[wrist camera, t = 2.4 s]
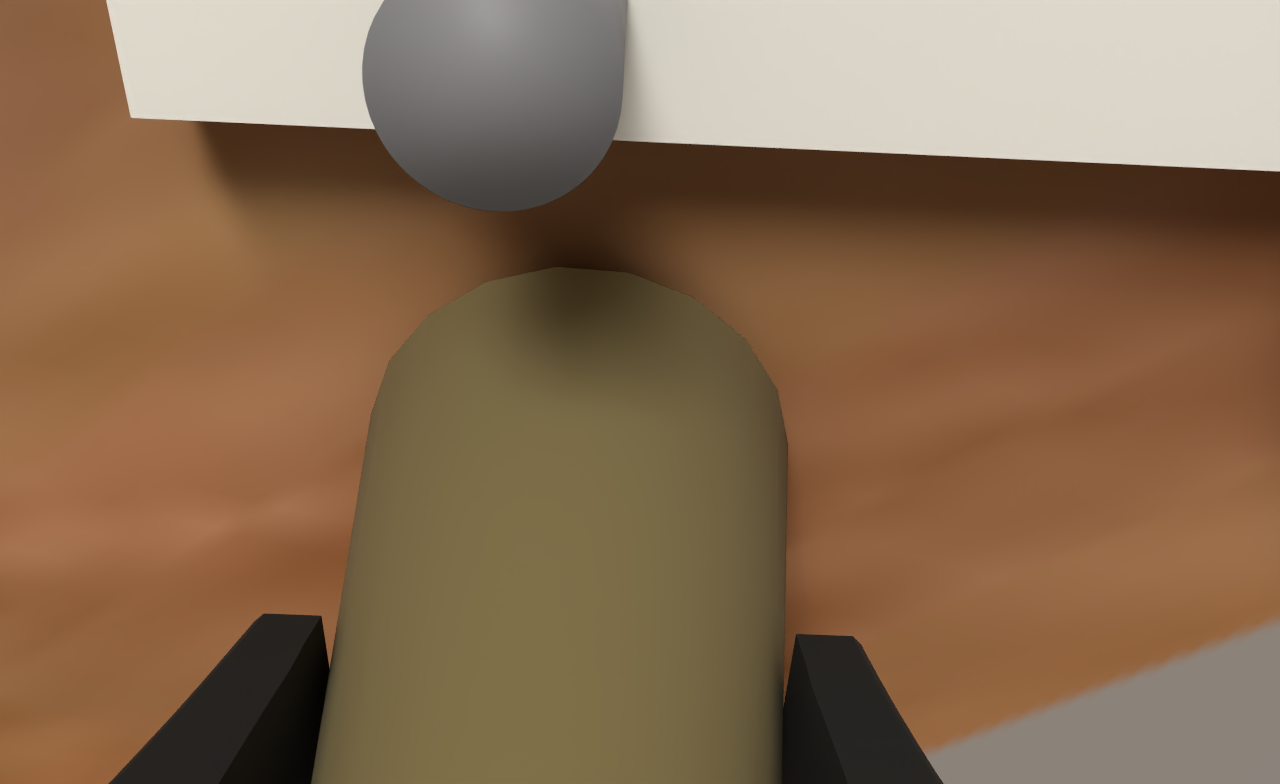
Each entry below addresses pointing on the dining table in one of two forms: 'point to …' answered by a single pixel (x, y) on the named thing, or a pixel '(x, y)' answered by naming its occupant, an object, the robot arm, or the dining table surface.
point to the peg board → (718, 79)
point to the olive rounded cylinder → (565, 548)
